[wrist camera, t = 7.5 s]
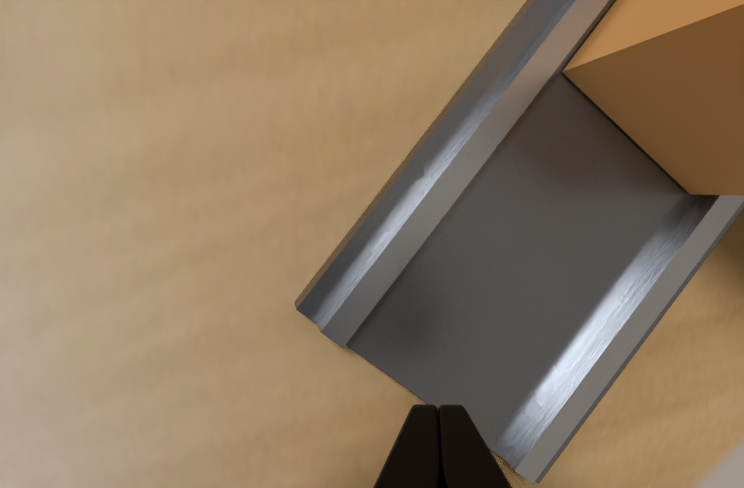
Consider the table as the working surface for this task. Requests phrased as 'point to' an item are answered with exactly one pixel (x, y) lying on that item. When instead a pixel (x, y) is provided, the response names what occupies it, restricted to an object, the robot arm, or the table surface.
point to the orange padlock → (673, 85)
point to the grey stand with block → (518, 248)
